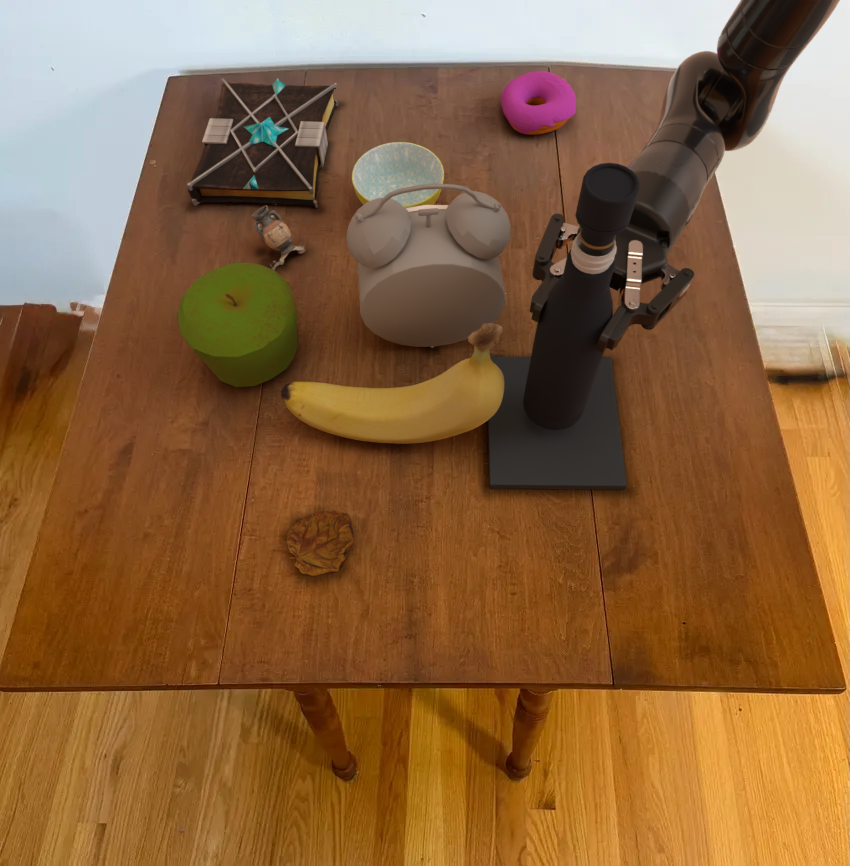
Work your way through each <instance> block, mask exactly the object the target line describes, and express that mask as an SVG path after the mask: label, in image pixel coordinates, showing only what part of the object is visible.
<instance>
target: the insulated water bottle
mask: <svg viewBox="0 0 850 866" xmlns="http://www.w3.org/2000/svg"><path fill="white" fill-rule="evenodd" d="M627 167H628V166H625V165H623V164H620V163H615V162H603V163H599V164H596V165H593V166H591V168H589V169H587V171H586V172H585V174H584V175H583V178H582V181H581V186H580V191H579V197H578V200H577V205H576V210H575V219H576V223H577V224H578V226H579V227H581V230H580V233H579V234H578V235H577V237H576V238H575V239H574V241H572V245H571V248H570V249H569V251H568V253H567V255H566V257H567V259H566V263H565V268H564V273H563V275H562V276H561V277H560V279H559V280H558V281H557V282H556V284H555V285H554V286H553V287H552V289H551V291H550V292H549V295H548V300H547V303H546V305H545V308H544V312H543V315H542V318H541V321H540V323H538V322H536V327H535V332H534V333H535V334H534V339H533V345H532V351H531V355H530V357H531V360H530V366H529V371H528V376H527V382H526V387H525V392H524V398H523V406H524V411H525V412H526V414H527V416H528V417H529V419H530V420H532V421H533V422H534V423H535V424H536V425H538V426H540V427H542V428H545V429H550V430H562V429H566V428H568V427H571V426H573V425H574V424H575V423H576V422H577V421H579V420H580V418H581V416H582V414H583V412H584V409H585V406H586V403H587V400H588V398H589V395H590V392H591V389H592V386H593V383H594V380H595V377H596V374H597V371H598V368H599V366H600V363H601V360H602V357H604V354H605V352H604V353H601V352H599V351H597V350H596V347H597V344H598V341H599V338H600V336H601V334H602V332H603V331H604V329H605V327H606V326H607V324H608V323H609V321H610V319H611V318H612V316H613V315H614V302H613V295H612V291H611V288H610V286H609V284H610V281H611V278H612V274H613V271H614V268H615V258H614V257H615V254H616V250H617V247H616V241H615V239H616V234H619V233H621V232H622V231H623V230H625V229H626V227H627V226H628V224H629V222H630V218H631V215H632V212H633V209H634V206H635V203H636V199H637V196H638V193H639V188H640V182H639V180H638V177H637V176H636V174H635V173H634V172H633V171H632V170H630V169H629V168H627Z"/></svg>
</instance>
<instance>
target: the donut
mask: <svg viewBox="0 0 850 866" xmlns="http://www.w3.org/2000/svg"><path fill="white" fill-rule="evenodd" d="M500 106H501V110H502V112H503V113H502V114H503V116H504V117H505V118H506V119H507V121H508V124H509V125H510V126H511V127H512V129H514V130H515V131H516V132H518V133H520V134H523V135H531V136H533V135H543V134H548V133H551V132H553V131H556V130H558V129H560V128H562V127H563V126H564V125H565V124H566V123H567V122H568V121H569V120H570V119H571V118H572V117H573V116H574V115H576V113H577V97H576V93H575V91H574V89H573V88H572V86H571V85H570V83H568V82H567V80H565V79H564V78H562V77H561V76H559V75H558V74H556V73H553V72H551V71H550V72H549V71H545V70H535V71H530V72H527V73H523V74H521V75H519V76H516V77H515V78H513V79H512V80H510V81H509V82H508V83H507V84H506V85H505V86H504V88H503V89H502V91H501V94H500Z"/></svg>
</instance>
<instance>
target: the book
mask: <svg viewBox="0 0 850 866" xmlns="http://www.w3.org/2000/svg"><path fill="white" fill-rule="evenodd" d="M221 83H222V84H221V88H220V95H219V100H218V107H217V113H216V115H215V118H213V117H211V118H209V120H208V123H207V126H206V129H205V131H204V135H203V137H202V141H201V143H202V147H203V152H202V154H201V157H200V159H199V162H198V163H197V166H196V168H195V170H194V173H193V175H192V178H191V180H190V181H189V182H188V183H186V186H187V192H188V195H189V197H190V198H191V203H192V205H193V206H194V207H197V206H198V205H199V204H201V203H251V204H253V203H254V204H278V205H279V204H283V205H299V206H311V207H314V208H315V209H317V208H319V203H318V200H317V195H318V186H319V176H320V175H319V174H320V170H321V168H324V165H325V160H326V155H327V151H328V146H329V141H328V136H327V135H328V134H327V130H328V128H329V125H330V124H331V120H332V118H333V115H334V112H335V110H336V107H338V106H339V101H338V99H334V94H333V93H334V91H335V90H337V89H338V84H337V83H336V82H334V83H332V84H331V85H292V84H285V83H284V82H283V81H281V79H279V78H276V80H275V81H274V82H273V83H272V84H266V83H264V84H263V83H262V84H261V83H250V82H238V81H227V80H226V79H225V78H224V77H223V78H221Z"/></svg>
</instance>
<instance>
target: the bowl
mask: <svg viewBox="0 0 850 866" xmlns="http://www.w3.org/2000/svg"><path fill="white" fill-rule="evenodd" d="M351 171H352V172H351V183H352V186H353V190H354V192H355V194H356V196H357V198H358V200H359V202H360V203H361V204H362V206H363V205H364V204H365V203H367V202H369V201H371V200H374V199H377V198H383V197H385V196H386V195H387V194H389V193H390V192H392V191H395V190H398V189H401V188H406V187H411V186H416V185H424V184H444V180H445V170H444V166H443V163H442V162H441V159H440V158H439V157H438V156H437V155H436V154H435V153H434V152H433V151H431V150H430V149H428V148H426V147H425V146H423V145H419V144H417V143H412V142H405V141H395V142H387V143H383V144H380V145H377V146H374V147H372V148H370V149H369V150H367V151H366V152H365V153H363V154H362V155H361V156H360V157H359V158H358V159H357V161H356V162H355V163H354V166H353V168H352V170H351ZM441 192H442V189H427V190H419V191H413V192H408V193H403V194H399V195H396V196H393V197H392V198H391V199H393V200H395V201H397V202H398V203H399V204H401V205H402V206H403V207H404V208H405V209H406V208H410V207H416V206H422V205H435V203H436V202H437V200H438V198H439V196H440V195H441Z"/></svg>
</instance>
